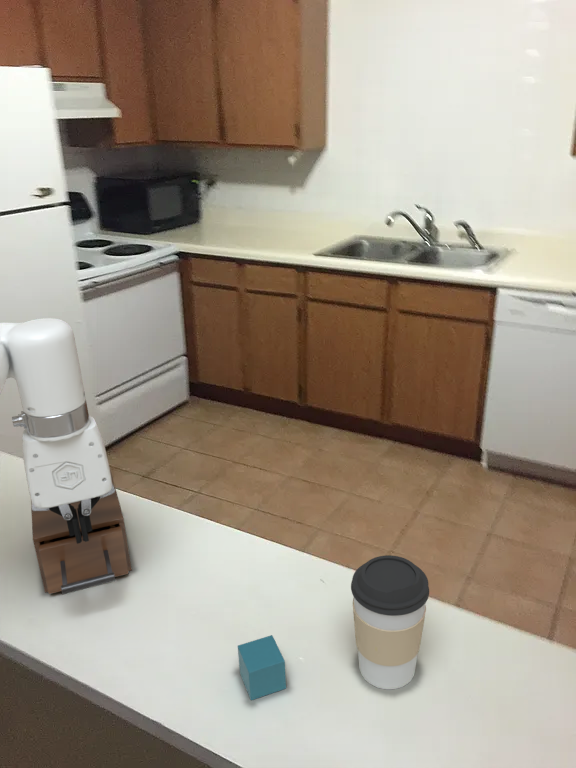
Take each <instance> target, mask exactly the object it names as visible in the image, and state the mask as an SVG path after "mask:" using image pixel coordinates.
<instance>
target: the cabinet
mask: <svg viewBox="0 0 576 768" xmlns="http://www.w3.org/2000/svg"><path fill="white" fill-rule="evenodd" d="M110 473H111V480H112V482H113V484H114V487H115V492H114V493H112V494H110V495H108V496H106V497H104V498H100V500H99V501H98V502H97V503H96V505H95V506H94V507H93V508H92V510H91V513H90V520H91V526H92V530H94V529H98V528H102V527H106V526H111V525H115V527H119V526H121V529H122V535H123V541H124V547H125V553H126V559H127V565H128V572H131V571H132V570H133V568H132V562H131V556H130V551H129V543H128V537H127V531H126V525H125V519H124V514H123V511H122V508H121V504H120V499H119V496H118V492H117V489H116V485H115V481H114V478H113V477H114V476H113V473H112V469H110ZM79 504H80V501H78V502H74V503H71V505H72V506H74V509H76V512H77V516H78V511H77V508H78V505H79ZM30 508H31V507H30ZM30 513H31V529H32V530H31V531H32V533H31V534H32V543H33V547H34V551H35V556H36V559H37V563H38V569H39V572H40V577H41V582H42V585H43V591H44V593H48V588H47V584H46V579H45V575H44V571H43V566H42V562H41V557H40V553H39V545H43V544H44V541H47V540H51V539H55V538H60V537H64V536H68V535H70V534H69V530H68V525H67V520H65V519H64V518H63V516H61V515H58V514H56V513H54V512H52V511H50V510H47V511H33V510H32V508H31V509H30ZM78 521H79V517H78ZM79 526H80V522H79ZM80 531H81V527H80Z"/></svg>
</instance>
